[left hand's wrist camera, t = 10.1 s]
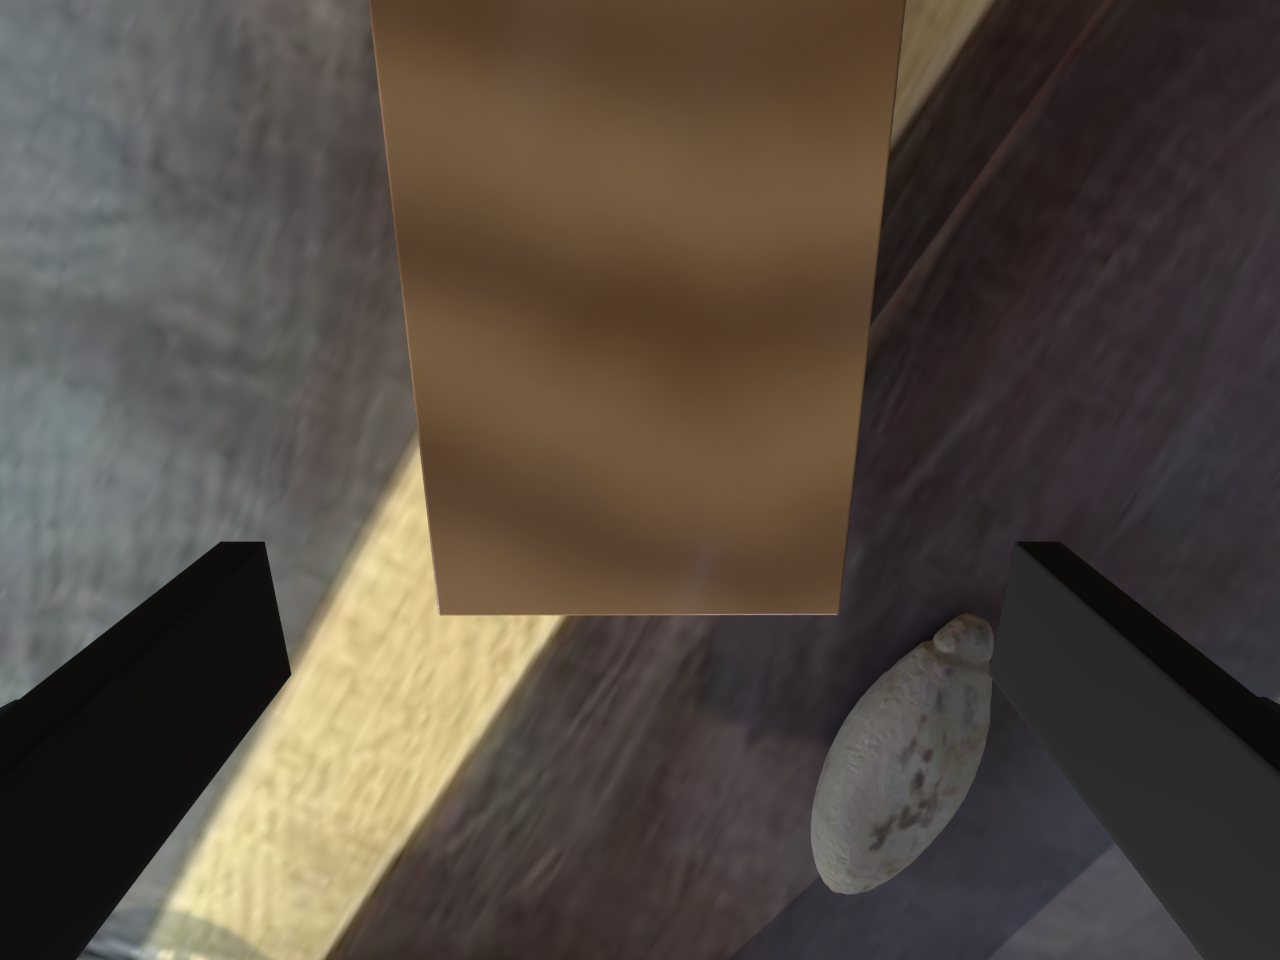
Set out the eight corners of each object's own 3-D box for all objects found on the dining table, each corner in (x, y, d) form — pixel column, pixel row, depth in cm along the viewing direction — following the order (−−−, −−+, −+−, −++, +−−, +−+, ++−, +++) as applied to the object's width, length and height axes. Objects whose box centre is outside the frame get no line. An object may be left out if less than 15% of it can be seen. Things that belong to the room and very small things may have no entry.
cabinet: (477, -10, 24) (345, -193, 13) (798, -11, 24) (928, -193, 13) (510, 472, 30) (438, 616, 19) (768, 471, 30) (839, 615, 19)
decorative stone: (1023, 616, 32) (1065, 661, 29) (887, 867, 37) (910, 929, 34) (895, 582, 31) (924, 624, 28) (775, 842, 36) (788, 903, 33)
